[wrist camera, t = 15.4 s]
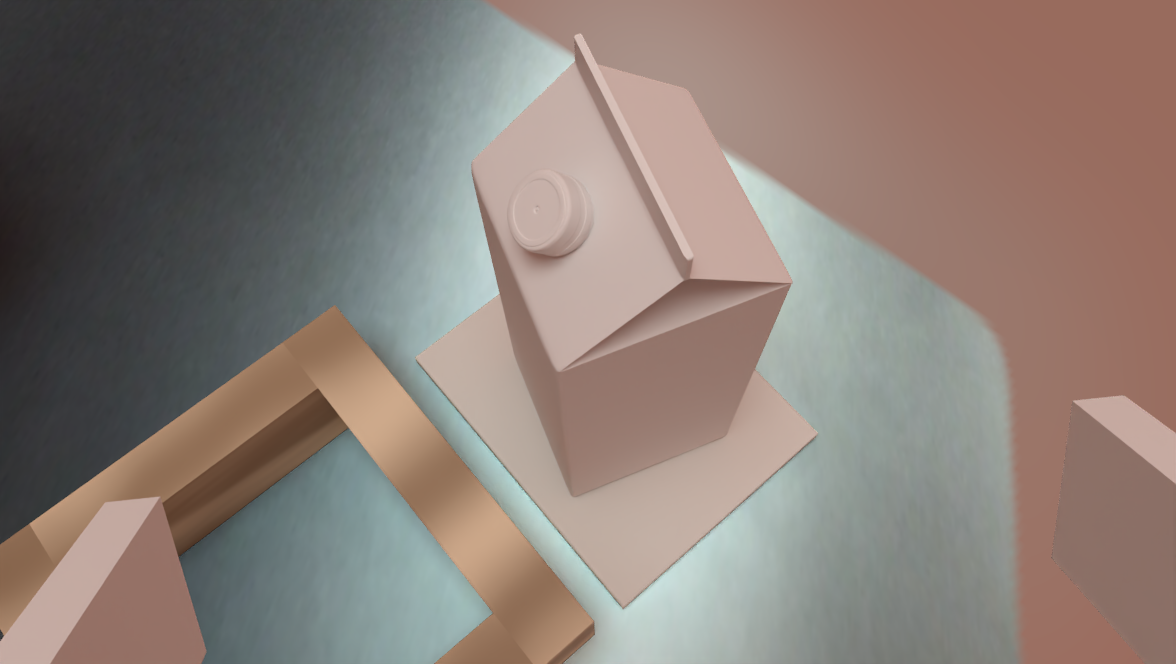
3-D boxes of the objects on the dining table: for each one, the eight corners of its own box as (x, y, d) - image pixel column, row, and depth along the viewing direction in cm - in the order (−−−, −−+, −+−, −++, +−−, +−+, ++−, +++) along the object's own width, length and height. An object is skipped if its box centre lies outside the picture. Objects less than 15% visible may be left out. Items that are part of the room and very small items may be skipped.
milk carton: (659, 297, 42) (701, -8, 25) (727, 437, 39) (827, 207, 22) (512, 352, 41) (446, 76, 24) (571, 500, 38) (546, 312, 21)
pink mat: (417, 362, 42) (414, 357, 41) (603, 222, 44) (603, 215, 44) (623, 608, 37) (623, 607, 37) (815, 437, 40) (818, 433, 39)
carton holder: (43, 588, 38) (-35, 569, 33) (364, 351, 42) (334, 305, 37) (253, 939, 33) (197, 974, 28) (594, 634, 37) (593, 621, 32)
